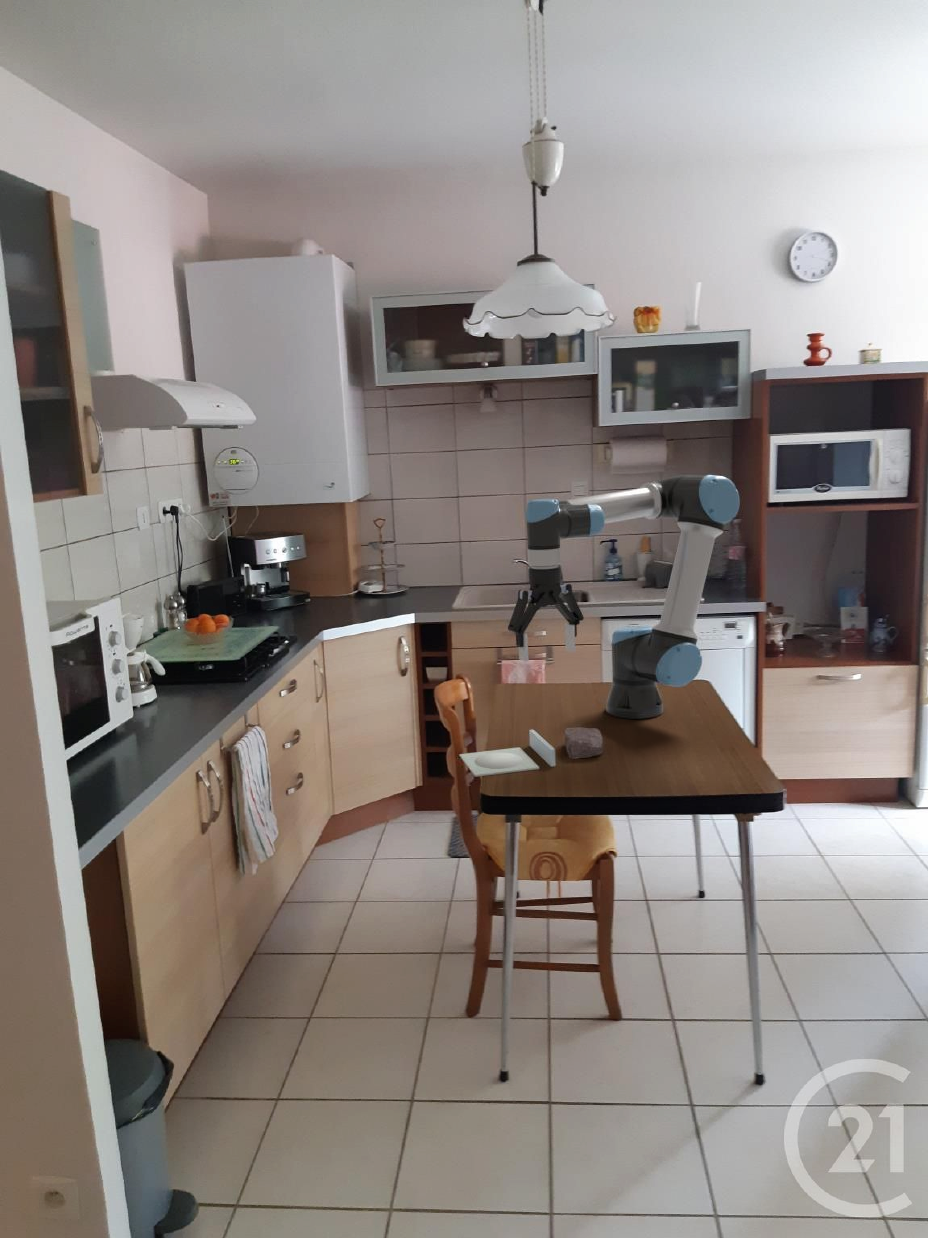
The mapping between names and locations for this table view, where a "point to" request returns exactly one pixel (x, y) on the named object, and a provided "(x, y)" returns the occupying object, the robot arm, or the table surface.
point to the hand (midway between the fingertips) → (547, 655)
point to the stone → (583, 742)
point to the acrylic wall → (542, 747)
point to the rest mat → (498, 761)
